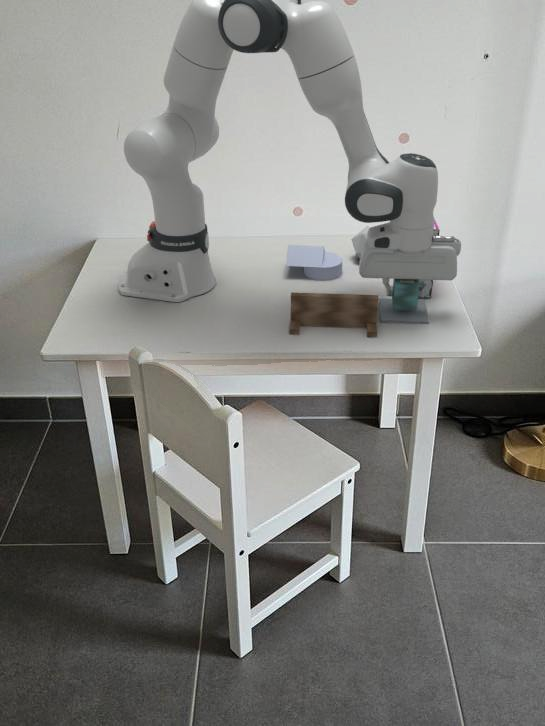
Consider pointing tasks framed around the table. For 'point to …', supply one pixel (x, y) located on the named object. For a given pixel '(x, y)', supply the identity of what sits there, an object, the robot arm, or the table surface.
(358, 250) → the die
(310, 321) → the walnut board
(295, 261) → the wedge on round base
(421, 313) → the grey mat
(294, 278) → the table surface
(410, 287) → the teal block
